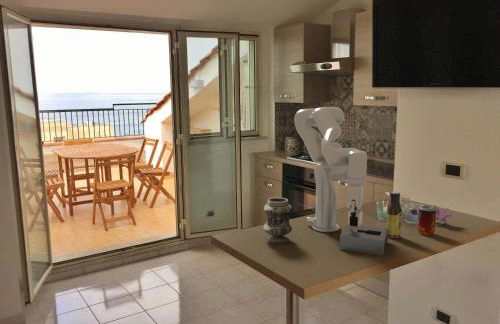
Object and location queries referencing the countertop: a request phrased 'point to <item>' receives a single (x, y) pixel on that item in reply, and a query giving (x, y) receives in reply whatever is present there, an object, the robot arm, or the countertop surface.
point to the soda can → (426, 220)
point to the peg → (358, 220)
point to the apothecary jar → (277, 220)
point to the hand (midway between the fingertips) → (354, 223)
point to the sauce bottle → (394, 216)
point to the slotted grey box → (364, 239)
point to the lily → (442, 214)
